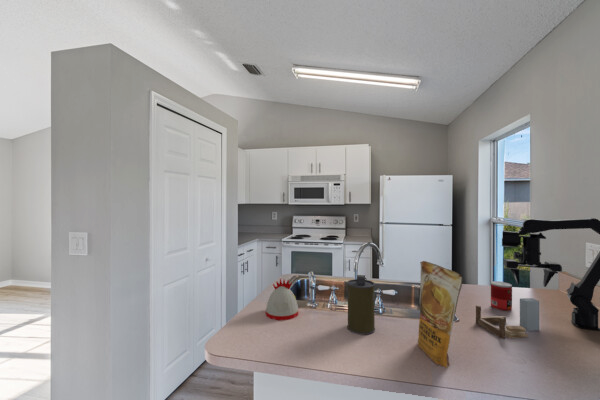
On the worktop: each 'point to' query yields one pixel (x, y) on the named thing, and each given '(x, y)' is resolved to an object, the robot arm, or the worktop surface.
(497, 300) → the canned food
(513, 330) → the offcut stack
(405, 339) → the worktop surface
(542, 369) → the worktop surface
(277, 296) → the beanie hat
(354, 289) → the canister
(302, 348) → the worktop surface
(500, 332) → the rack
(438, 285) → the pancake mix bag
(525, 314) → the grey rectangular block
